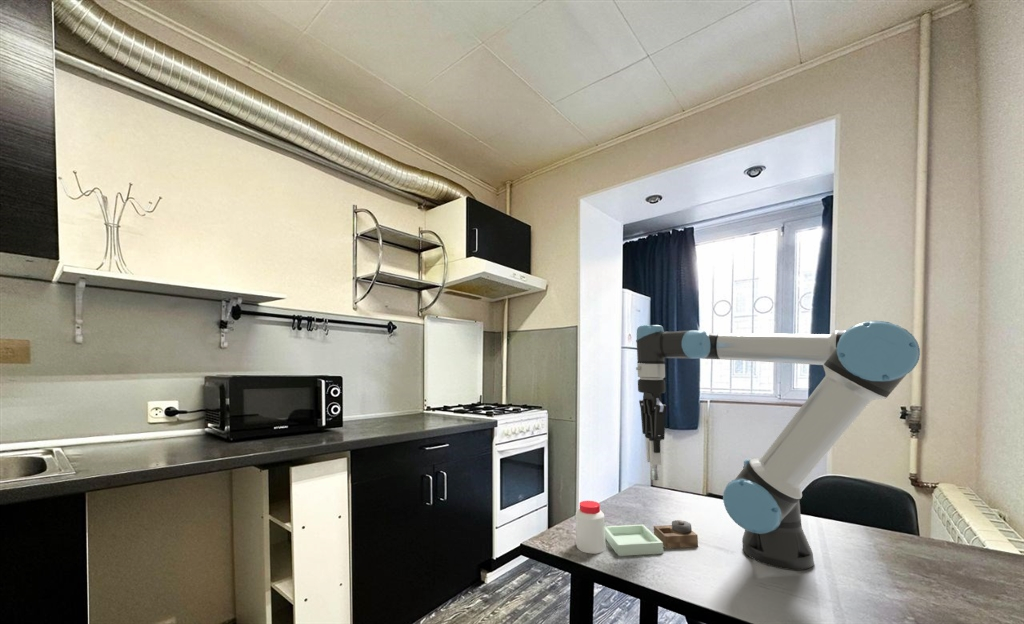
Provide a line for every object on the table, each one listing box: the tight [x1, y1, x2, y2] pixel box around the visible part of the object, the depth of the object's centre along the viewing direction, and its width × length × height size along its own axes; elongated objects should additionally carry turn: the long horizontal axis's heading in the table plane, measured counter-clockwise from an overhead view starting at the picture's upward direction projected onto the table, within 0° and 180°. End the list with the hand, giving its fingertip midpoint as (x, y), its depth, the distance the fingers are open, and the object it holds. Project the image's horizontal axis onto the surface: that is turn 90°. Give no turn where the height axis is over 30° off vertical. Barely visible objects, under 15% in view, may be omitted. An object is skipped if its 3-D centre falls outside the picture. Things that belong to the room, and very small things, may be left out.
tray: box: [605, 523, 664, 557], centre depth 109 cm, size 12×12×3 cm
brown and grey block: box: [653, 519, 699, 549], centre depth 110 cm, size 9×7×5 cm
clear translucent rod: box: [649, 442, 660, 481], centre depth 113 cm, size 2×2×10 cm
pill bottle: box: [575, 500, 607, 554], centre depth 108 cm, size 8×8×11 cm
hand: (653, 462), depth 113 cm, fingers closed on clear translucent rod, 2 cm apart
